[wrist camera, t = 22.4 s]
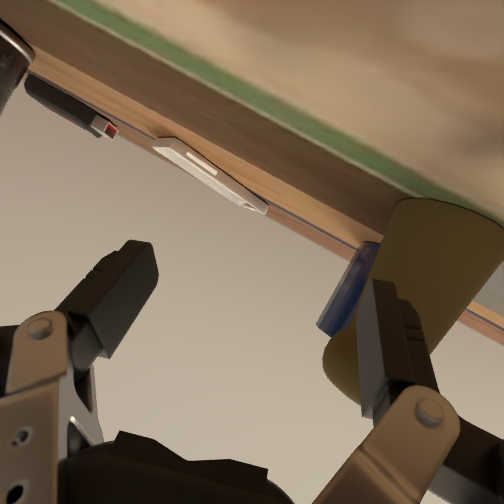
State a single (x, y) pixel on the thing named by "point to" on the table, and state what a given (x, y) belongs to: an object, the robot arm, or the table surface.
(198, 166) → the phone case
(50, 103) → the usb drive
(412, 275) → the olive pawn figure
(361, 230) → the table surface
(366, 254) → the mug
